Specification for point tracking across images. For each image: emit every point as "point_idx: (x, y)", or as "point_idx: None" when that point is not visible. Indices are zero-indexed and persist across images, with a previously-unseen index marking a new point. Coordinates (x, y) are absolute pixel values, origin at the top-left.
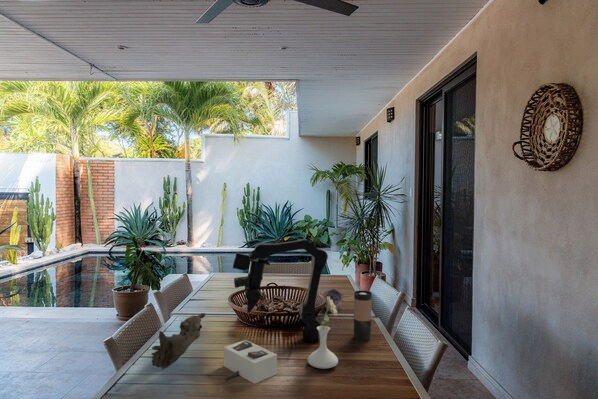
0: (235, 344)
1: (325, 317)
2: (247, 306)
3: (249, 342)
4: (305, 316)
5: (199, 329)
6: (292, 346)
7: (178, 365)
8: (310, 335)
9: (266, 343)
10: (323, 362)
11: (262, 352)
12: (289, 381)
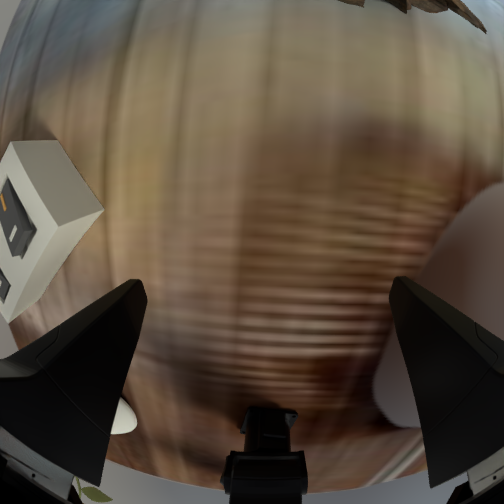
0: (24, 184)
1: (87, 493)
2: (85, 312)
3: (15, 248)
4: (226, 483)
5: (403, 7)
6: (212, 375)
7: (88, 9)
8: (245, 434)
9: (246, 296)
10: None
11: (2, 286)
12: (27, 318)
